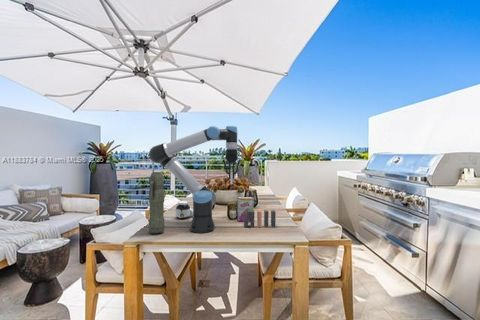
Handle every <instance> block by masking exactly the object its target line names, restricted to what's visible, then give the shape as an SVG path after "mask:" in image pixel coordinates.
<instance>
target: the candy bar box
mask: <svg viewBox="0 0 480 320" xmlns="http://www.w3.org/2000/svg"><path fill="white" fill-rule="evenodd" d="M254 201H255V199H254V197H247V196H246V197H245V196H239V197H237V205H236V206H237V208H236V209H237V212H236V213H237V215H236V217H237V218H236V221H237V222H244V221H245V218H246V214H247V210H250V211H251V210H254ZM250 217H251V215H250ZM249 223H250V219H249Z"/></svg>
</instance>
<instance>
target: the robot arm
mask: <svg viewBox="0 0 480 320" xmlns="http://www.w3.org/2000/svg"><path fill="white" fill-rule="evenodd" d="M210 141H225V148H226V150H225V156H224V157H225V158H223V159H221V161H222V163H223V165H224V170H225V173H226V174H227V175H228V180H230V185H233V183H234V182H233V180H235V175H236V174H238V170H239V167H240V163H241V161H242V159H241V158H239V157H238V127H237V125H226V126H225V128H219V127H217V126H215V125H211V126H209V127H208V128H206V129H203V130H200V131H198V132H195V133H191V134H190V135H187V136H184V137H181V138H179V139H176V140H173V141H171V142H168V143H166V142H162V143H161V144H160V143H159V144H157V145H155V146H152V147H151V148H150V149H149V152H148V156H149V159H150V160H151V162H153V163H154V164H160V166H162V168H163V169H164V170H168V171H169V172H170V173H171V174H173V175H172V176H174V177H175V178H176V179H177V180H178V181H179V182H180V183H181V184H182V185H183V186H184V187H185V188H186V189H187V190H188V191H189V193H191V195H192V209H193V217H192V219H191V222H190V226H189V231H190V232H192V233H197V234H205V233H209V232H213V231H214V230H215V229H216V227H215V222H214V219H213V206H214V205H215V203H216V201H217V197H216V193H215V192H214V191H213V190H211V189H209V188H208V187H207V186H206V185H203V184H201V182H199V181H198V180H197V179H196V177H195V176H194V175H193V174H192V173H190V172H189V171H188V170H187V168H186V167H185V166H183V164H182V163H181V162H180V161H179V160H178V156H177V155H176V154H178V153H181V152H183V151H185V150H188V149H190V148H194V147H197V146H199V145H203V144H205V143H207V142H210ZM226 162H227V163H228V166H227V163H226ZM236 162H237V164H236V169H235V163H236ZM231 164H232V165H231ZM231 166H232V167H231ZM231 168H232V169H231ZM231 170H232V171H231ZM231 173H232V174H231Z"/></svg>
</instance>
